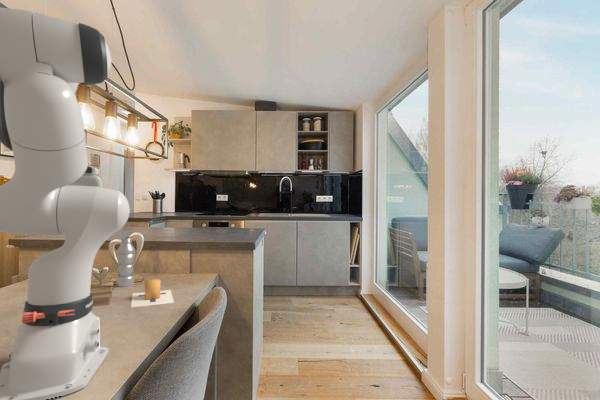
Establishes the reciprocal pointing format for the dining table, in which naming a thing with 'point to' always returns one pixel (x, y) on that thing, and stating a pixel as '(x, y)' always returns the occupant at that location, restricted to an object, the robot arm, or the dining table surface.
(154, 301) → the letter card
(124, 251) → the plastic bottle
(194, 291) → the dining table surface
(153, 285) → the orange cylinder
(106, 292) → the walnut block
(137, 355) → the dining table surface
